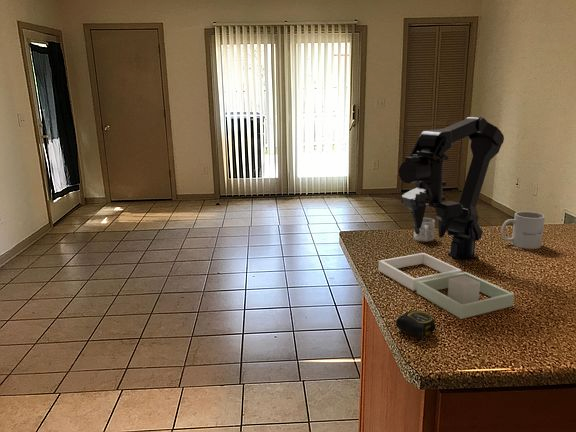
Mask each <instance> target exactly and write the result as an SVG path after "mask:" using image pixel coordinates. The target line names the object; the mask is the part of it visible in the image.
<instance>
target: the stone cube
mask: <svg viewBox="0 0 576 432" xmlns="http://www.w3.org/2000/svg"><path fill="white" fill-rule="evenodd" d="M447 289H448V290H447V296H448V297H450V298H451V299H453V300H455V301H457V302H459V303H461V304H466V303H471V302H475V301H479V298H480V291H479V290H480V282H478V281H476V280H474V279H472V278H470V277H467V276H465V275H464V276H459V277H454V278H450V279H449V285H448V288H447Z"/></svg>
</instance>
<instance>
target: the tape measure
mask: <svg viewBox="0 0 576 432" xmlns="http://www.w3.org/2000/svg"><path fill="white" fill-rule="evenodd" d="M395 326H396V328H398V329H399V330H400V331H403V332H405V333H407V334H408V335H411V336H412V337H415V338H417V339H419V340H423V339H425V337H429V336H431V335H432V334H433V333H434V331H435V330H436V324H435V318H434V316H432V314H430V313H428V312H425V311H422V310H410V311H407V312H405V313H403V315H401V316H398V317H397V318H396V320H395Z"/></svg>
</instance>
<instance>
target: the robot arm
mask: <svg viewBox="0 0 576 432" xmlns="http://www.w3.org/2000/svg"><path fill="white" fill-rule="evenodd" d="M464 138H468V139H469V140H470V150H471V154H472V158H471V161H470V165H469V166H468V167H469V168H468V171H467V174H466V177H465V181H464V184H463V188H462V190H461V194H460V197H459V200H458V202H456V201H453V200H449V201H446V196H444V195H443V187H445V186H447V182H446V181H444V165H445V163H444V162H445V161H448V160H449V159H450V158H449V156H448V155H447V154H446V152H447V151H449V150H450V149H452V147H453V144H454V143H456V142H458V141H460V140H462V139H464ZM504 141H505V136H504V133H503V132H502V131H501V130H500V129H499V128H498V127H497V126H496V125H495V124H494V125H493V124H492V123H490V122H488V120H486V118H484V117H481V116H468V117H466V118H465V119H463V120H459V121H458V122H456V123H453V124H451V125H449V126H447V127H444V128H440V129H439V128H437V129H428V130H423V131H422V132H420V135H419V137H418V139H417V141H416V142H415V144H414V147H413V149H412V151H411V153H410V155H409V156H405V159H404V162H402V163H401V164H400V166H399V169H398V176H399V178H400V180H401V181H402V182H403V183H404V184H413V183H416V187H415V188H412V189H410V190H409V191H407V192H404V193H403V194H402V195H401V203H402V204H403V206H404V207H405V208H407V209H409V210H410V211H411V214H412V217H413V221H414V222H415V224H416V228H417V229H420V228H421V225H422V222H423V218H425V217H424V216H425V213H426V208H427V206H429V208H430V207H431V208H433V209H435V213H436V214H434V216H435V218H437V220H438V222H437V223H438V225H437V226H438V230H437V231H438V238H439V239H440V238H441V239H442V238H443V237H444V236H445V234H446V233H447V235H448V236H452V238H451V242H450V243H451V244H450V251H449V252H447V255H448V256H451V257H453V258H456V259H458V260H460V261H466V260H470V259H471V260H472V259H476V258H479V255H478V254H475V249H476V241H477V242H478V241H480V239H482V236H483V234H484V233H483V230H482V229H481V226H480V225H479V224H478V222H479V214H478V210H477V204H478V202H479V201H478V200H479V198H480V194H481V191H482V188H483V184H484V181H485V178H486V175H487V171H488V168H489V165H490V162H491V161H492V159H493V158H494V157H495V156H497V154H499V152H500V150H501V147H502V146H503V144H504Z"/></svg>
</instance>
